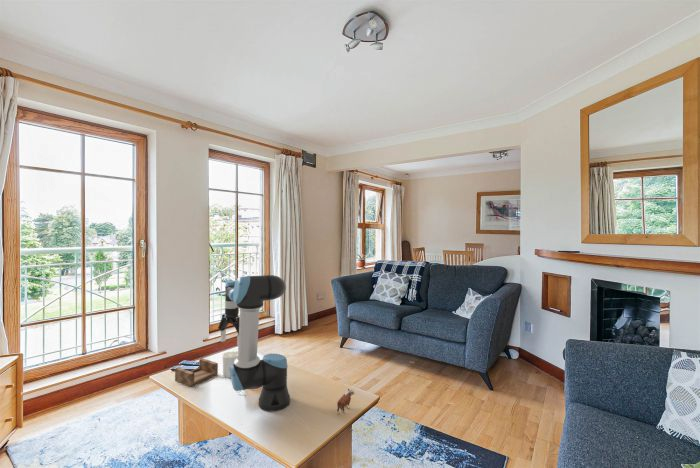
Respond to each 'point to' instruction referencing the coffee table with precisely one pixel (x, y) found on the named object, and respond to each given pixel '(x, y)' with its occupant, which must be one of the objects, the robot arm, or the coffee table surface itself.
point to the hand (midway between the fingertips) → (231, 343)
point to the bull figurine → (345, 400)
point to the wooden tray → (197, 373)
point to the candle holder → (228, 362)
